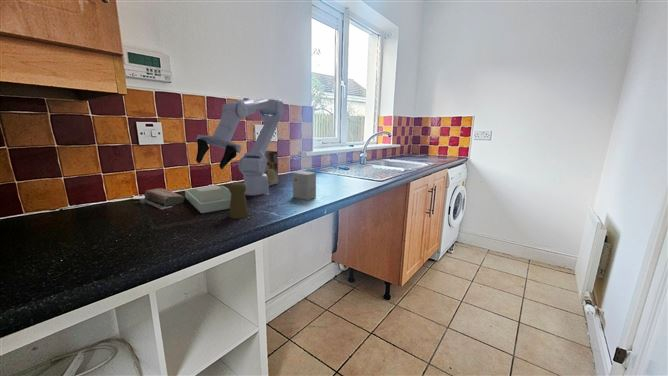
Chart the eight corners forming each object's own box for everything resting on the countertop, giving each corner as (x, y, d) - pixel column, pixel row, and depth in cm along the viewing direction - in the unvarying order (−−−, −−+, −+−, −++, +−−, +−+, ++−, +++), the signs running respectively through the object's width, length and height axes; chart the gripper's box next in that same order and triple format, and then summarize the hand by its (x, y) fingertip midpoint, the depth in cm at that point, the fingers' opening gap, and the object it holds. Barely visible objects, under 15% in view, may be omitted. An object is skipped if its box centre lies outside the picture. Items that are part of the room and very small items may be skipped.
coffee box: (269, 181, 142) (268, 150, 138) (278, 183, 139) (278, 151, 135) (255, 185, 134) (254, 151, 130) (265, 186, 131) (264, 152, 127)
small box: (316, 197, 115) (316, 172, 113) (307, 200, 111) (308, 174, 108) (301, 194, 119) (301, 170, 117) (292, 197, 115) (292, 172, 112)
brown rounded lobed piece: (237, 220, 87) (235, 185, 85) (225, 216, 90) (223, 183, 88) (252, 214, 92) (251, 182, 90) (240, 211, 95) (238, 180, 93)
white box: (217, 195, 110) (217, 185, 109) (222, 198, 106) (222, 188, 105) (196, 198, 105) (195, 188, 104) (200, 202, 101) (199, 191, 100)
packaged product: (137, 190, 101) (166, 185, 109) (139, 203, 102) (168, 197, 110) (160, 199, 91) (190, 193, 99) (161, 213, 92) (191, 206, 100)
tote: (223, 195, 115) (222, 185, 114) (243, 208, 98) (243, 197, 97) (185, 200, 106) (184, 190, 105) (201, 216, 90) (200, 204, 89)
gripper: (200, 118, 92) (182, 152, 86) (243, 129, 92) (228, 164, 86) (207, 130, 98) (190, 163, 93) (247, 141, 98) (233, 174, 93)
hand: (209, 164), depth 90 cm, fingers open, 7 cm apart
